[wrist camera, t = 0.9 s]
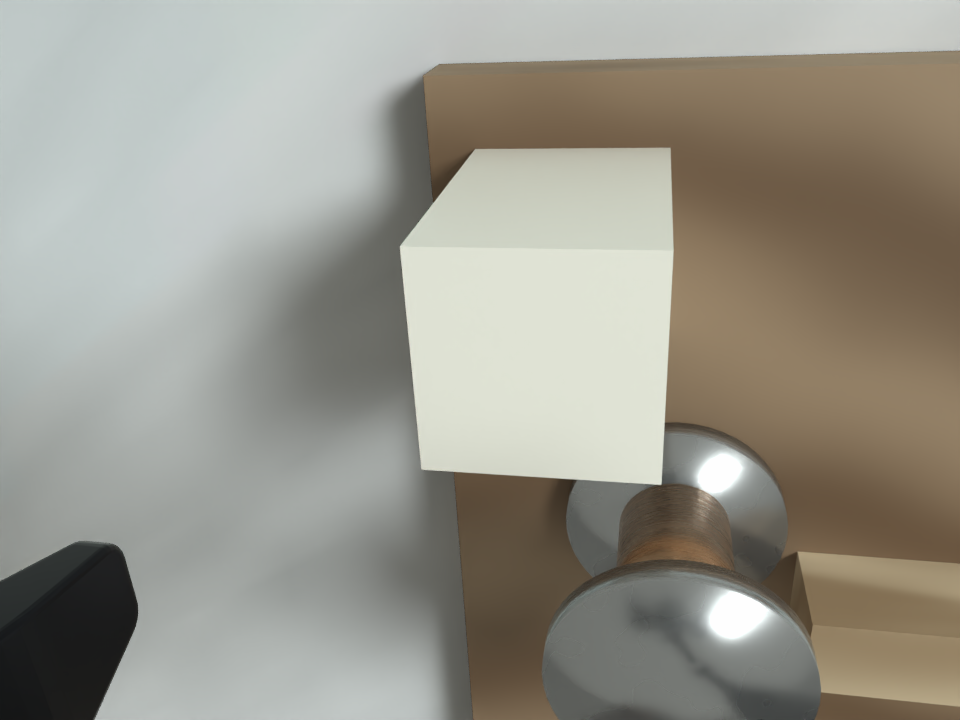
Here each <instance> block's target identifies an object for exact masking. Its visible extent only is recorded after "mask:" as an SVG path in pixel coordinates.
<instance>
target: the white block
mask: <svg viewBox="0 0 960 720" xmlns="http://www.w3.org/2000/svg"><path fill="white" fill-rule="evenodd" d="M673 252H674V248H673V214H672V180H671V148H553V149H475V150H474V151H473V153H472V154H471V155H470V156H469V158H468V159H467V160H466V162H465V163H464V164H463V165H462V167H461V168H460V169H459V171H458V172H457V173H456V175H455V176H454V177H453V178H452V180H451V181H450V182H449V184H448V185H447V186H446V187H445V189H444V190H443V191H442V193H441V194H440V195H439V196H438V198H437V199H436V200H435V202H434V203H433V204H432V206H431V207H430V208H429V209H428V211H427V212H426V213H425V215H424V216H423V217H422V218H421V220H420V221H419V222H418V224H417V225H416V226H415V228H414V229H413V230H412V231H411V233H410V234H409V235H408V237H407V238H406V239H405V240H404V242H403V243H402V244H401V246H400V254H401V265H402V275H403V285H404V295H405V306H406V316H407V326H408V336H409V346H410V357H411V367H412V377H413V387H414V398H415V408H416V418H417V428H418V439H419V449H420V459H421V469H422V470H434V471H450V472H466V473H481V474H497V475H513V476H529V477H544V478H560V479H576V480H591V481H607V482H623V483H639V484H654V485H661V483H662V464H663V445H664V425H665V406H666V387H667V368H668V348H669V329H670V310H671V291H672V271H673Z"/></svg>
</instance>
